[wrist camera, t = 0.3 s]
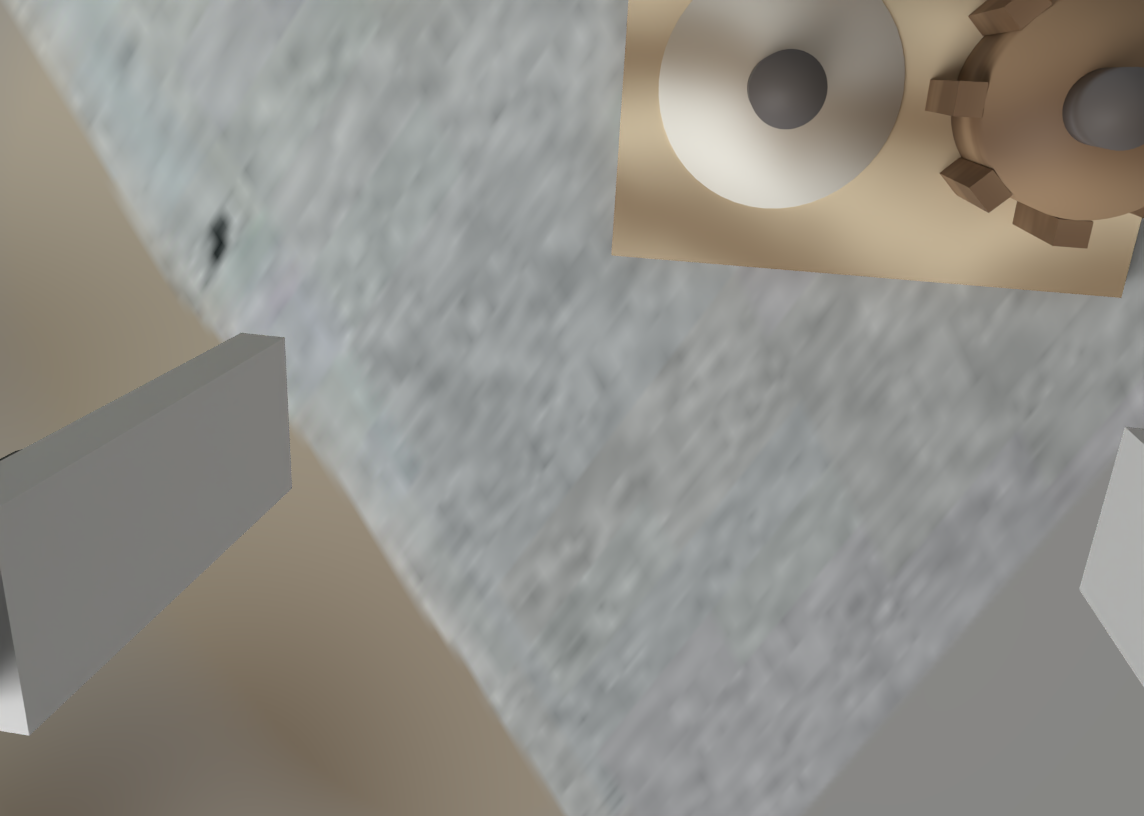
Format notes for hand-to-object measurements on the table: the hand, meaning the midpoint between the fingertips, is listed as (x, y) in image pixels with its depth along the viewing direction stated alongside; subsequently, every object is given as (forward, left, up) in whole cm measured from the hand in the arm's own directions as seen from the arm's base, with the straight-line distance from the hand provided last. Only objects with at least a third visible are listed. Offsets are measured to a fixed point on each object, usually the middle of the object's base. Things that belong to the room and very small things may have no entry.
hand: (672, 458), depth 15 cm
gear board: (-5, +6, -26) cm, 28 cm away
